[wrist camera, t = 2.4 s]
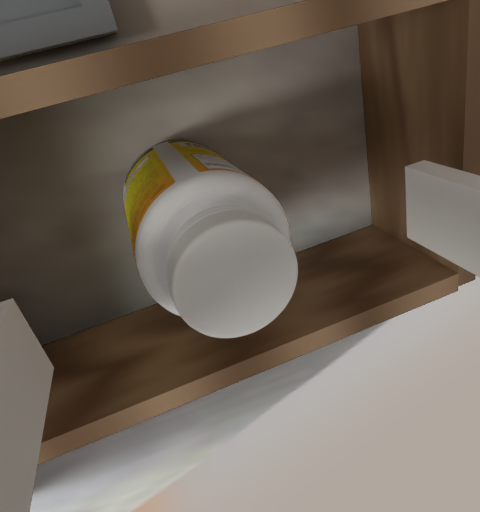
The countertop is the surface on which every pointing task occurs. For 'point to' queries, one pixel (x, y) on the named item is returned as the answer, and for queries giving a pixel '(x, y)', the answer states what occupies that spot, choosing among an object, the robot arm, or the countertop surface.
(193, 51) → the frame
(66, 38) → the tray
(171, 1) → the countertop surface
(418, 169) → the robot arm
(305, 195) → the countertop surface
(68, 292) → the countertop surface
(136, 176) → the supplement bottle
